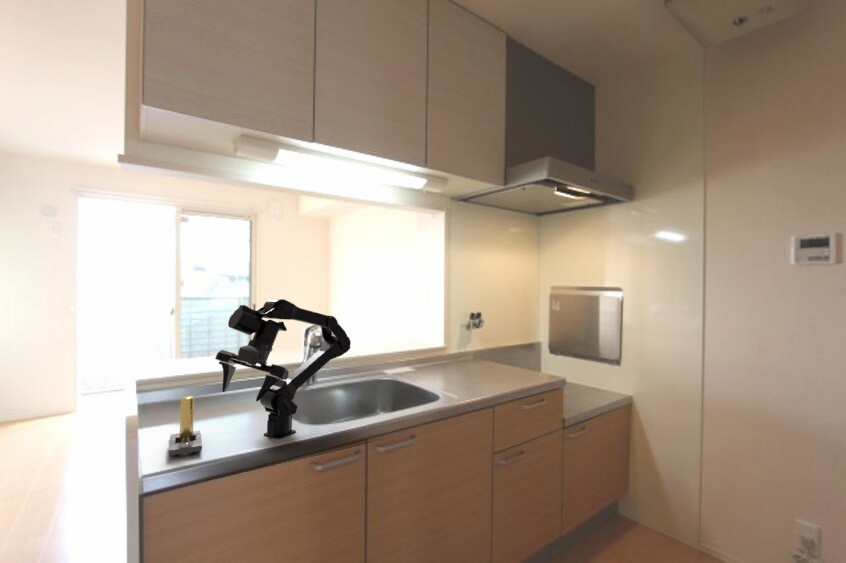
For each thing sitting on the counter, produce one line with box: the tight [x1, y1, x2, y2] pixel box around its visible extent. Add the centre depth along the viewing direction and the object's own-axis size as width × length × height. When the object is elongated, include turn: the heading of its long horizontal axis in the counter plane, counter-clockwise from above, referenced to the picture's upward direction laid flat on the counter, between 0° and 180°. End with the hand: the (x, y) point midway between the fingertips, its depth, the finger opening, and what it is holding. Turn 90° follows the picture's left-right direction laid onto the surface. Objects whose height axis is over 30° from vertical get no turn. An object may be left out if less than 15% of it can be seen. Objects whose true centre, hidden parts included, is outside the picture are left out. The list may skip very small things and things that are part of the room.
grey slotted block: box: [168, 430, 203, 458], centre depth 105 cm, size 17×7×3 cm, turn 31°
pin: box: [179, 396, 195, 443], centre depth 104 cm, size 3×3×13 cm
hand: (240, 396), depth 107 cm, fingers open, 9 cm apart
